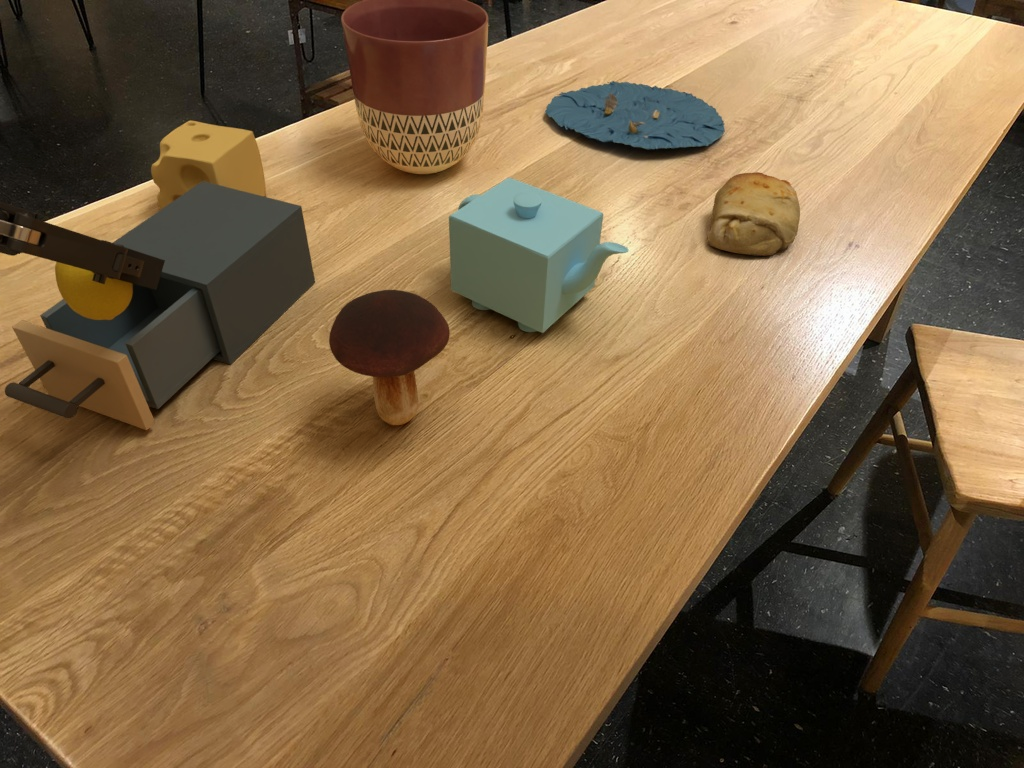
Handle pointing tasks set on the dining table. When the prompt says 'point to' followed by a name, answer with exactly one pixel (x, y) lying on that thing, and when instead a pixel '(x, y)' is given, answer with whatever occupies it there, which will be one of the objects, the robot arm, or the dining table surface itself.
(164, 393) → the drawer
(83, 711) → the dining table surface
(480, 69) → the planter
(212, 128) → the cheese
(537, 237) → the teapot
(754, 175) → the pastry
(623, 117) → the decorative plate
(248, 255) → the cabinet
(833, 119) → the dining table surface
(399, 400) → the decorative mushroom
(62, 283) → the lemon
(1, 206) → the robot arm
